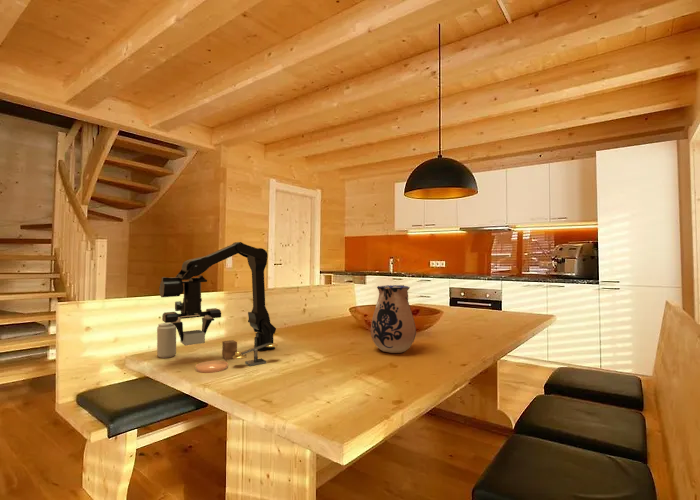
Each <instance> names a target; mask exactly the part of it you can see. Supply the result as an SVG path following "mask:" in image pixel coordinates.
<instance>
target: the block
mask: <svg viewBox="0 0 700 500" xmlns="http://www.w3.org/2000/svg"><path fill="white" fill-rule="evenodd" d="M221 345H222V348H221V349H222V357H221V358H222V359H223V360H224V361H231V360H235V359H234V358H233V356H234V355H235V352H237V351H238V341H236V340H234V339H230V340H223V341H222V342H221Z"/></svg>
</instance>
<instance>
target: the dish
mask: <svg viewBox="0 0 700 500" xmlns="http://www.w3.org/2000/svg"><path fill="white" fill-rule="evenodd" d="M228 366H229V365H228V362H227V360H216V359H215V360H205V361H201V362H199V363H196V365H195V371H196V372H197V373H201V374H202V373H205V374H206V373H207V374H209V373H210V374H211V373H219V372H222V371H225V370H227V369H228Z"/></svg>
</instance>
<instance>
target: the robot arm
mask: <svg viewBox="0 0 700 500" xmlns="http://www.w3.org/2000/svg"><path fill="white" fill-rule="evenodd" d="M235 255H240V256H242V257H245V258H246V259H247V264H248V266H249V268H250V272H251V288H252V309H251V311H248V312H247V316H248V320H247V322H248V323H249V325H250V327H251V328H252V329H253V332H254V333H255V336H254V340H253V341H254V344H253V345H254V346H253V348H255V347H258V346H261V345H263V344H266V343H274V335H275V334H276V332H277V327H275V325H273V324H272V323H271V318H270V314H269V312H268V309H267V307H266V293H265V292H266V290H265V289H266V288H265V270H266V269H265V268H266V267H267V264H268V251H267V250H265V248H262V247H255V246H252V245H248V244H246V243H244V242H241V241H237V242H233V243H232V244H230V245H227V246H225V247H223V248H221V249H218V250H216V251H213V252H211V253H209V254H207V255H204V256H199V257H195V258H190V259H187V260H184V261H183V262H182V265H181V269H180V270H179V272H178V274H176V275H175V276H174V277H172V276H170V277H167V276H162V277H161V281H160V285H159V289H158V290H159V295H160V297H161V298H174V297H180V296H181V295H182V294H183V298H182V299H183V300H182V301H181V300H180V301H179V300H178V301H175V302H174V310H175V311H168V312H163V313H162V315H161V316H162V317H161V318H162V319H161V320H162V322H163V323H172V324H173V325H175V326H176V331H177V332H178V336H179V338H180V339H181V341H183V332H184V326H183V325H184V324H183V321H182V319H194V318H201V322H202V325H201V331H203V332H204V333H205V335H206V334H207V331H208V328H209V327H210V325H211V324H212V322H213V321H215V319H218V318H219V319H220V318H222V310H220V309H219V308H217V307H213V308H206V310H204V311H202V302H203V301H202V300H203V298H202V283H207V282H208V279H206V278H205V277H204V276H203V273H205V272H206V271H208V270H209V269H210V268H211V267H212V266H213V265H215V264H218V263H220V262H222V261H225V260H226V259H229V258H231V257H233V256H235ZM178 312H180V313H178ZM274 349H276V347H266V346H265V347H262V348H259V349H258V351H260V352H261V351H269V350H274Z"/></svg>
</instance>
